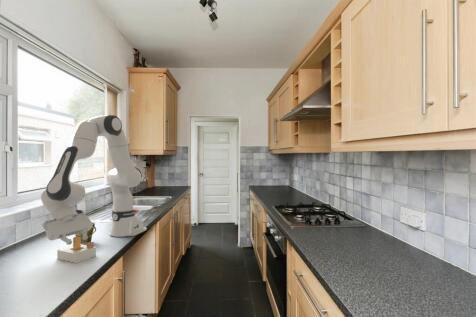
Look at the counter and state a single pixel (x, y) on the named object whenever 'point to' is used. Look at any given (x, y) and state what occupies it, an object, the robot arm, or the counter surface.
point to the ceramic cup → (89, 234)
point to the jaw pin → (76, 243)
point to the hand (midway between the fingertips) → (78, 241)
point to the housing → (77, 253)
